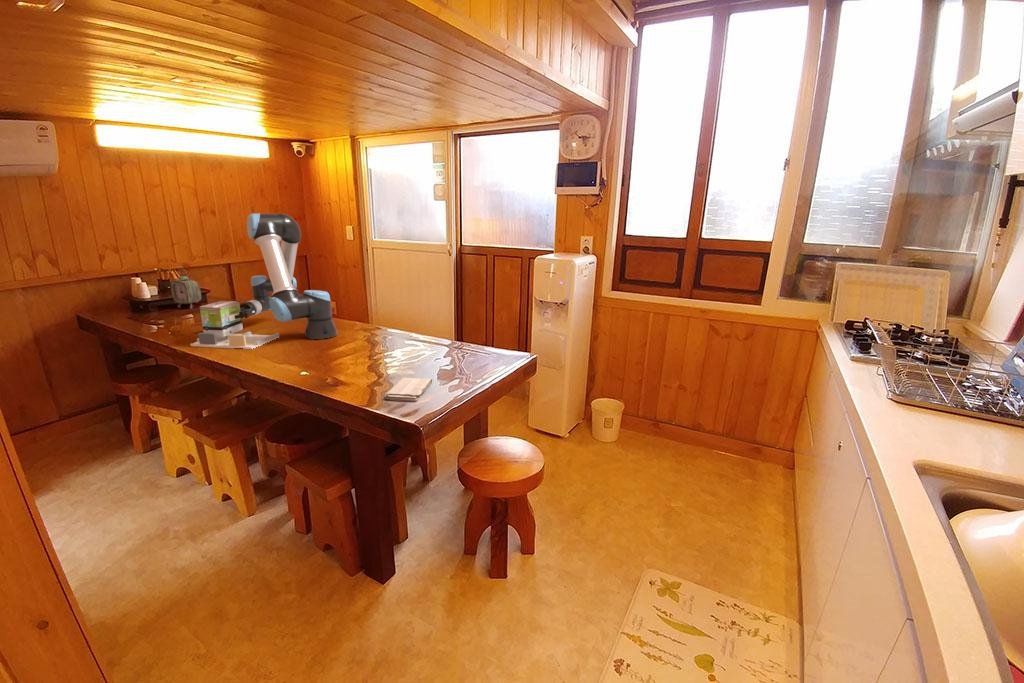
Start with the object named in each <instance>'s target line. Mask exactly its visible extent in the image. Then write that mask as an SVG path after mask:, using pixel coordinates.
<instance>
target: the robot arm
mask: <svg viewBox="0 0 1024 683" xmlns="http://www.w3.org/2000/svg"><path fill="white" fill-rule="evenodd" d="M246 231H247V236H248V238H249V239H251V240H254V243H255V244H256V245H258V246H259V247H260V250H261V254H262V258H263V260H264V264H265V267H266V270H267V274H268V276H269V278H267V276H266V275H264V274H263V275H261V274H260V275H253V276H251V278H250V285H251V292H252V295H253V296H252V297H253V299H251V300H248V301H244V302H241V303H239V304H240V311H241V312H239V313H240V314H239V313H236V314H233V315H230V316H228V319H229V322H230V321H233V320H237V319H240V318H242V319H243V318H244V319H247V318H249V317H251V316H257V314H261V313H264V312H268V311H270V312H271V313H272V315H273V317H274V318H275V319H276V320H277V321H279V322H291V321H295V320H301V319H306V320H307V323H306V327H305V330H304V331H305V332H304V336H305V338H306V339H307V338H309V339H308V340H314V339H319V340H325V339H324V338H328V339H331V338H330V337H332V338H335V337H336V335H337V336H338V329H337V328H336V324H335V323H334V321H333V320H334V319H333V314H332V305H331V304H332V302H331V301H332V299H331V296H330V294H329V292H328V291H326V290H325V291H324V290H316V289H309V290H308V289H307V290H304V291H303V293H302V294H301V293H299V290H298V289H297V287H298V285H297V283H298V282H297V279H296V278H295V277H294V271H295V265H296V258H297V251H298V247H299V243H300V242H301V241H302V231H301V228H300V225H299V224H298V222H297V221H296V219H294V218H293V217H292V216H290V215H288V214H287V213H260V212H258V213H251V214H250V213H249V215H248V217H247V221H246ZM270 293H272V294H271V297H270ZM334 336H335V337H334Z"/></svg>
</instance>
